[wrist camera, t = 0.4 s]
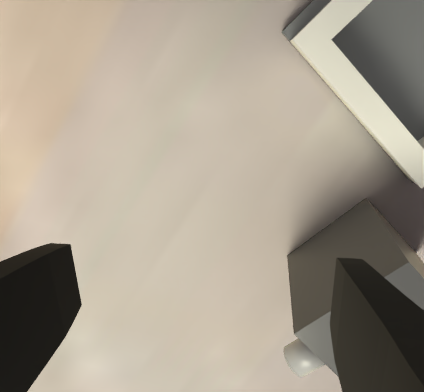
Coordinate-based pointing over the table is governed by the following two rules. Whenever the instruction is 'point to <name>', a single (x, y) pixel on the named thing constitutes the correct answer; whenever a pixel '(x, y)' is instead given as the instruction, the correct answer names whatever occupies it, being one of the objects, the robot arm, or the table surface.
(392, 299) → the robot arm
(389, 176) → the table surface
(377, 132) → the socket plate
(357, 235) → the plug
